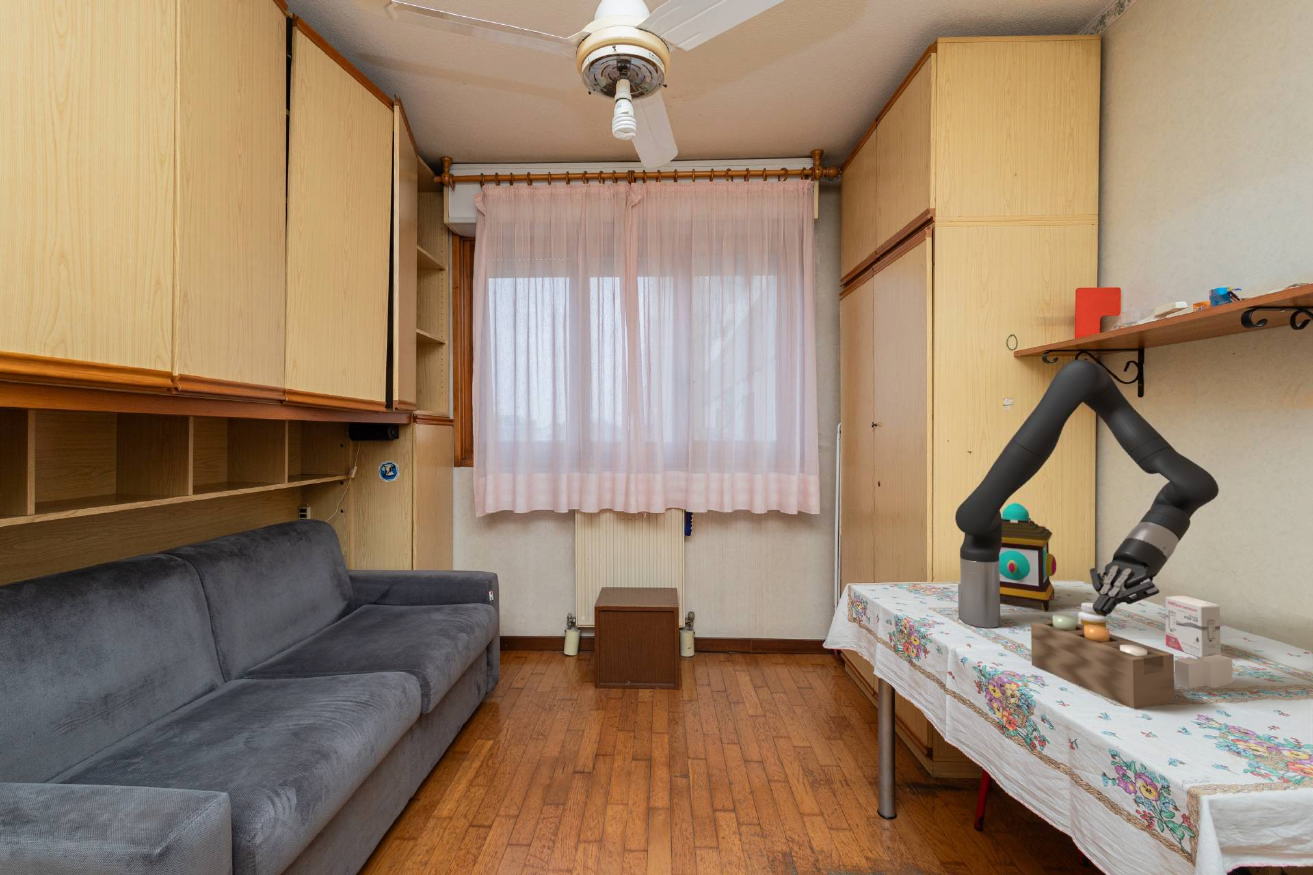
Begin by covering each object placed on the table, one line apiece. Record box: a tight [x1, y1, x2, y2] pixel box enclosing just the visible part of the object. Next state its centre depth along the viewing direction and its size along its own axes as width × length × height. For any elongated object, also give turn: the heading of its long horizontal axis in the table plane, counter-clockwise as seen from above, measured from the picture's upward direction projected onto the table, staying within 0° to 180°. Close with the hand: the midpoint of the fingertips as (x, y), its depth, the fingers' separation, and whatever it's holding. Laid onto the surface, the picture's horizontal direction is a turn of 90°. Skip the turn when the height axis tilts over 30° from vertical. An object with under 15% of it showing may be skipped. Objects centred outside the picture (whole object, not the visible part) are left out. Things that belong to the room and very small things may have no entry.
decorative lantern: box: [999, 502, 1057, 613], centre depth 172 cm, size 20×20×30 cm
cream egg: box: [1120, 645, 1147, 656], centre depth 107 cm, size 4×4×3 cm
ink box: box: [1165, 595, 1222, 658], centre depth 130 cm, size 9×5×12 cm, turn 5°
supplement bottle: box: [1077, 602, 1107, 628], centre depth 134 cm, size 5×5×10 cm
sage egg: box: [1052, 614, 1077, 632], centre depth 121 cm, size 4×4×3 cm
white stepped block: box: [1174, 655, 1234, 690], centre depth 113 cm, size 15×11×6 cm
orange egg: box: [1084, 625, 1110, 643], centre depth 114 cm, size 4×4×3 cm
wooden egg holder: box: [1030, 621, 1176, 710], centre depth 114 cm, size 21×10×9 cm, turn 14°
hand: (1098, 612), depth 113 cm, fingers closed
